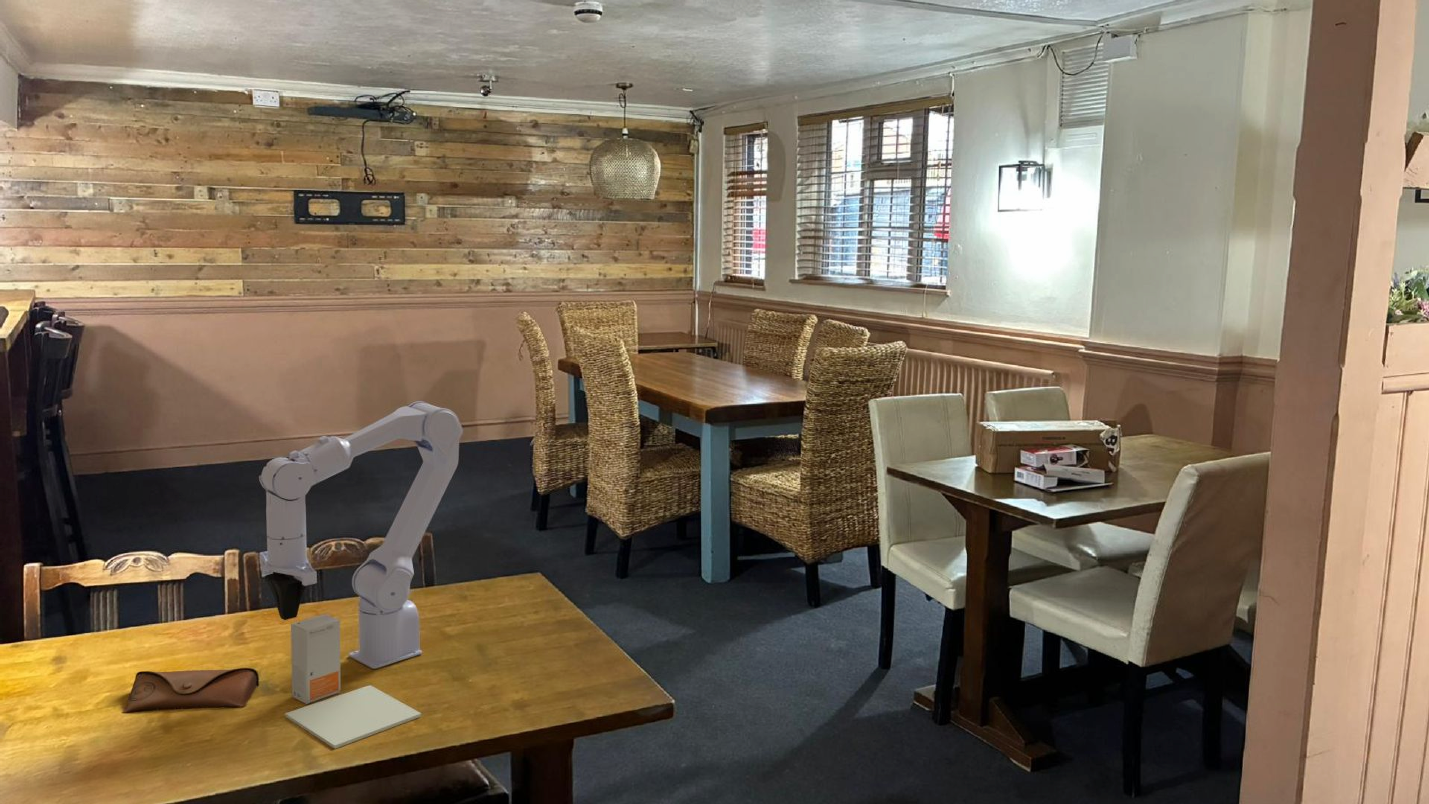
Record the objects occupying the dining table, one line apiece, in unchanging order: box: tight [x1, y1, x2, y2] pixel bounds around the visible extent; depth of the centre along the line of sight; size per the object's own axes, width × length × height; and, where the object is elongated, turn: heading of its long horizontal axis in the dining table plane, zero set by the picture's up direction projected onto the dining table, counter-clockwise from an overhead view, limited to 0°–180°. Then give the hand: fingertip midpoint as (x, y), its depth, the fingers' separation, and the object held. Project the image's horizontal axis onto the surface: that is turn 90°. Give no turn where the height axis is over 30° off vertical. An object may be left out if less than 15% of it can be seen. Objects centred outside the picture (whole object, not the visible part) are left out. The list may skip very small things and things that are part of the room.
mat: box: [284, 684, 422, 750], centre depth 156 cm, size 14×14×1 cm
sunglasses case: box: [121, 667, 260, 714], centre depth 160 cm, size 18×7×7 cm, turn 102°
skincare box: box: [290, 613, 342, 705], centre depth 162 cm, size 6×4×12 cm
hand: (288, 617), depth 166 cm, fingers closed
